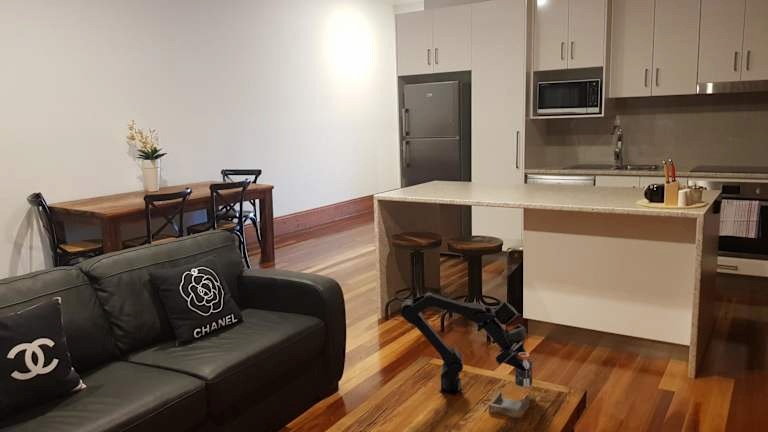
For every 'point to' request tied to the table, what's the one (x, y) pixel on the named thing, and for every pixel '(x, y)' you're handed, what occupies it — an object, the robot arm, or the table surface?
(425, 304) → the robot arm
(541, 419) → the table surface
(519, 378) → the pill bottle
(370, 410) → the table surface
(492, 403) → the box
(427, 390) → the table surface
